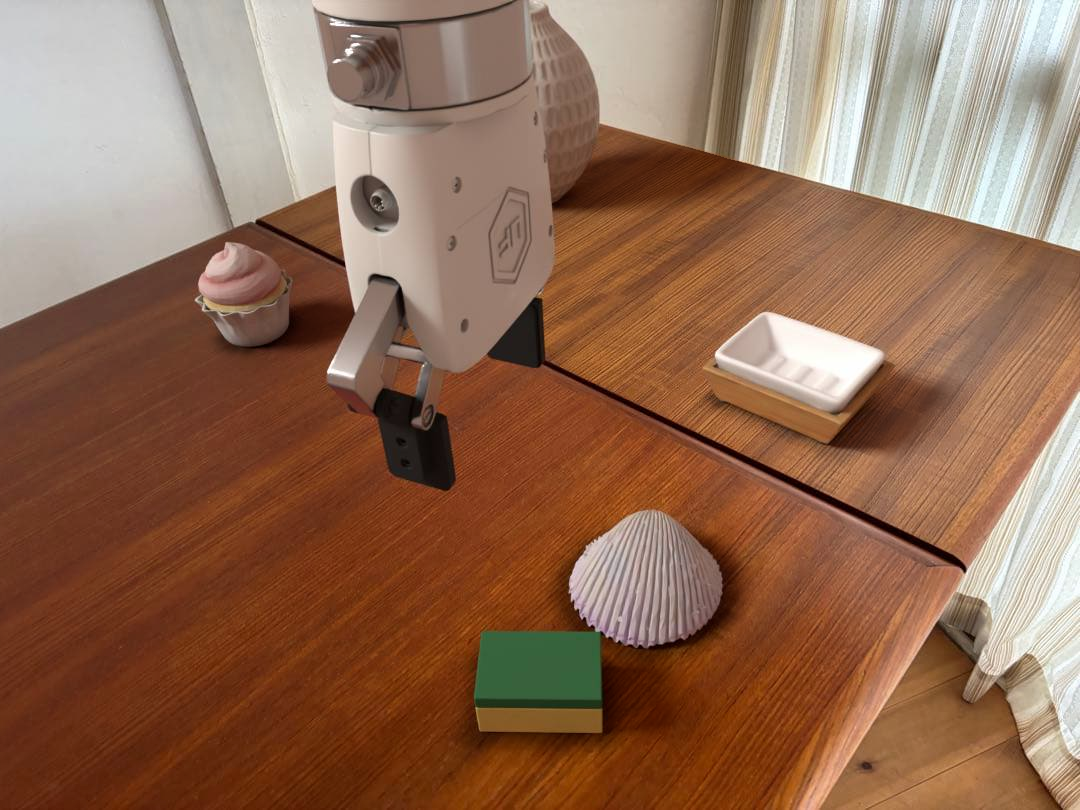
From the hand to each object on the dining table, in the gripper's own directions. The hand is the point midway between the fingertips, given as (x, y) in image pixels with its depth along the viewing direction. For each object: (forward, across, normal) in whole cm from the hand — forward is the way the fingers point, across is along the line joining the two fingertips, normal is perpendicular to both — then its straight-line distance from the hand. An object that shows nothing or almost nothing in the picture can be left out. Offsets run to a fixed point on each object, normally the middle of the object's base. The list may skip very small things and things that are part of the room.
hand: (473, 415), depth 41 cm
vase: (+20, +63, +26) cm, 71 cm away
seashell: (+20, +9, -6) cm, 23 cm away
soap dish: (+20, +32, -12) cm, 40 cm away
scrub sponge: (+20, -2, -4) cm, 20 cm away
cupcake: (+20, +25, +40) cm, 51 cm away
